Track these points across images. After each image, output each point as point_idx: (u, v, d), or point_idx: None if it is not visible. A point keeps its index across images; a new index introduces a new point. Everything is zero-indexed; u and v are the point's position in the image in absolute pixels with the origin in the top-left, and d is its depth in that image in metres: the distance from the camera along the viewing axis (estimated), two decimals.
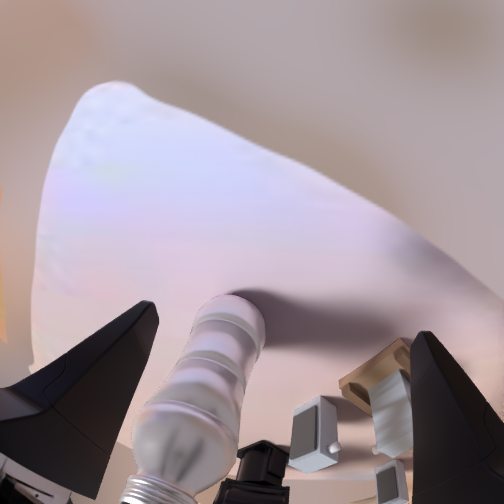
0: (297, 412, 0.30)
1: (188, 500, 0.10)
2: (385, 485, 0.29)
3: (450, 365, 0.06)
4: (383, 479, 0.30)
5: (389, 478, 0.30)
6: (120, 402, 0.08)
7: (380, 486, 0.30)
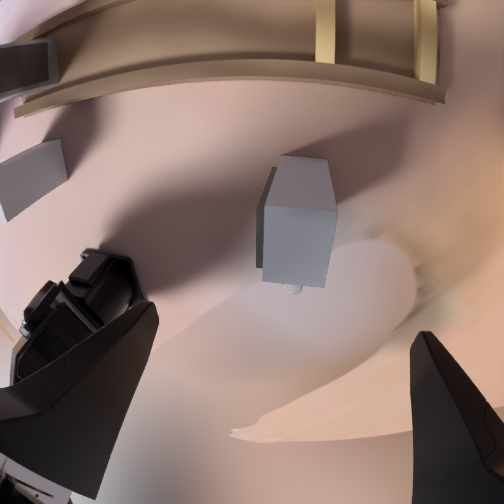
0: None
1: None
2: None
3: (450, 365, 0.06)
4: None
5: None
6: (120, 402, 0.08)
7: None
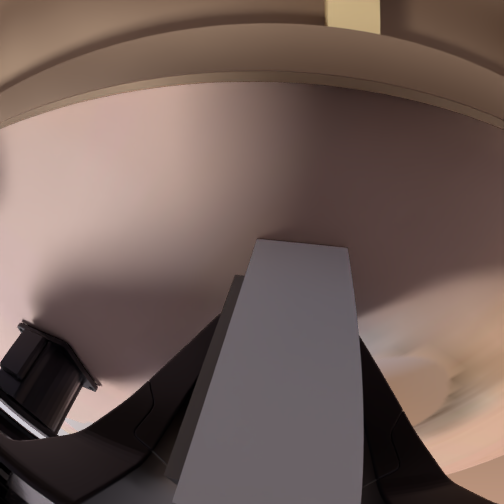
0: None
1: None
2: None
3: (365, 365, 0.07)
4: None
5: None
6: None
7: None
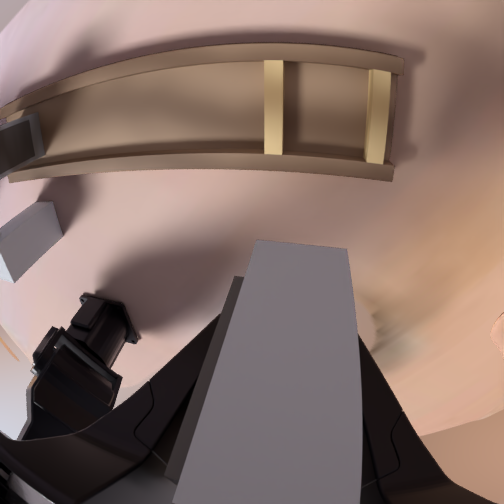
0: None
1: None
2: None
3: (365, 366, 0.07)
4: None
5: None
6: None
7: None
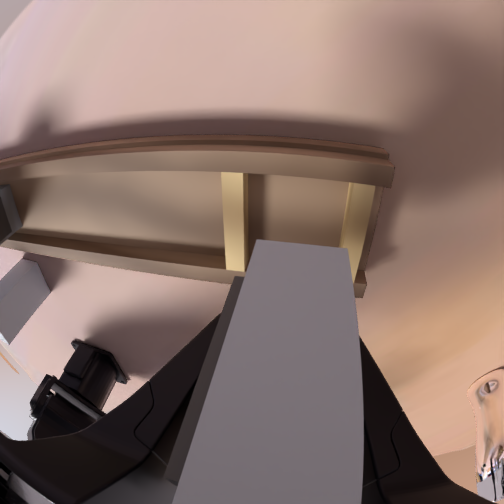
0: None
1: None
2: None
3: (365, 366, 0.07)
4: None
5: None
6: None
7: None
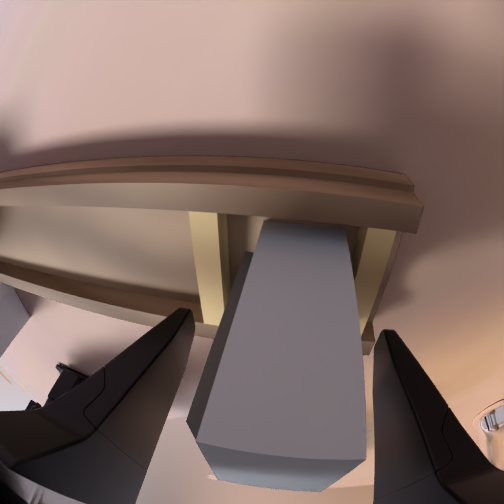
0: None
1: None
2: None
3: (410, 366, 0.07)
4: None
5: None
6: (159, 415, 0.07)
7: None
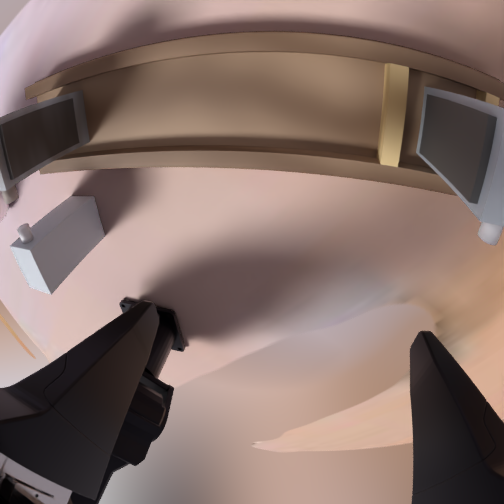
0: None
1: None
2: (446, 140, 0.09)
3: (450, 365, 0.06)
4: (434, 137, 0.11)
5: (439, 117, 0.10)
6: (120, 402, 0.08)
7: (440, 155, 0.10)
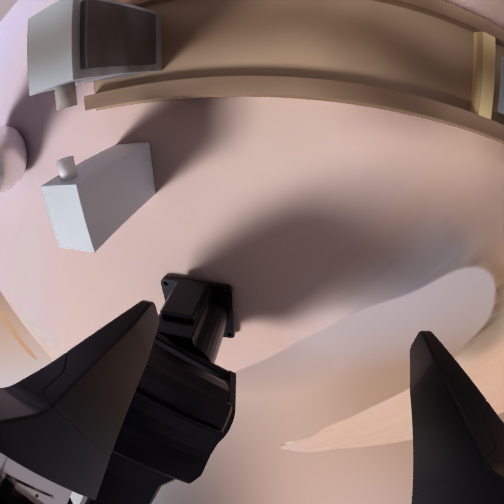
0: None
1: None
2: None
3: (450, 365, 0.06)
4: None
5: None
6: (120, 402, 0.08)
7: None
